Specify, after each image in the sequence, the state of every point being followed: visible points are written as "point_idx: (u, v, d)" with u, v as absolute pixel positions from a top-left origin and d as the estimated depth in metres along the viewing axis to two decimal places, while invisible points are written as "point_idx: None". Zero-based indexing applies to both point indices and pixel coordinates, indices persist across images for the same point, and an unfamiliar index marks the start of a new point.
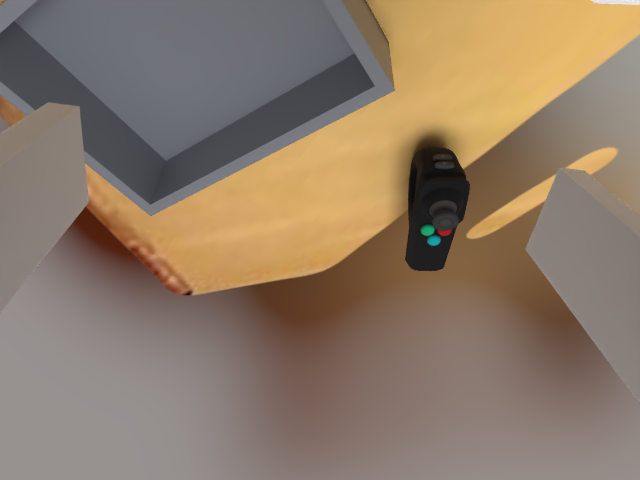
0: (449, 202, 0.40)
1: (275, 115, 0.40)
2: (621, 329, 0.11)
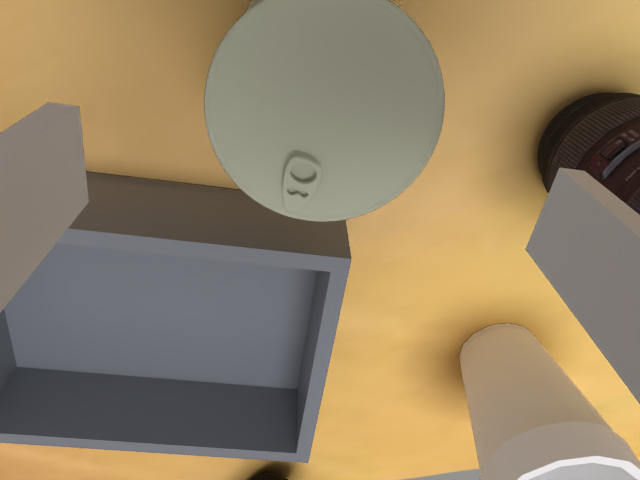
0: None
1: (180, 407, 0.38)
2: (621, 329, 0.11)
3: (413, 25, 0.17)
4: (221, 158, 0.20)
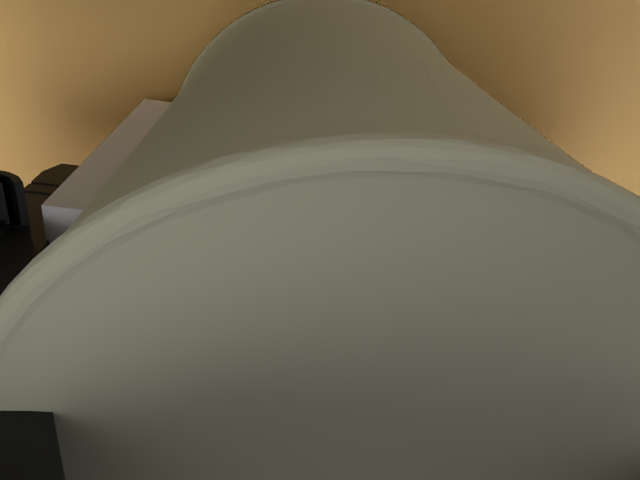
0: None
1: None
2: None
3: None
4: None
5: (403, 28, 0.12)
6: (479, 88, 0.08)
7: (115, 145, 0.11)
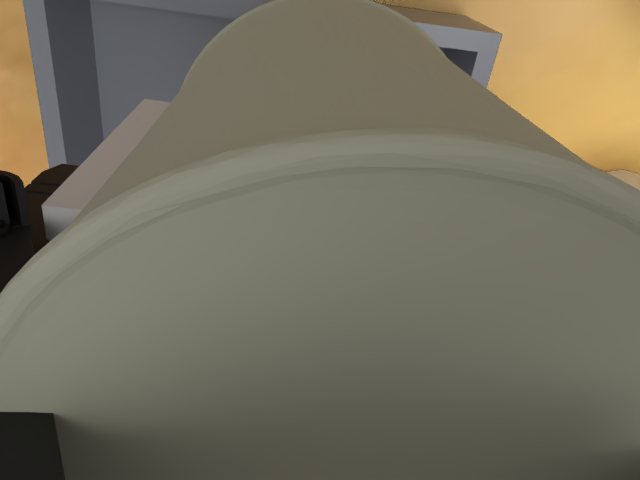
0: None
1: None
2: None
3: None
4: None
5: (404, 26, 0.12)
6: (481, 86, 0.08)
7: (115, 145, 0.11)
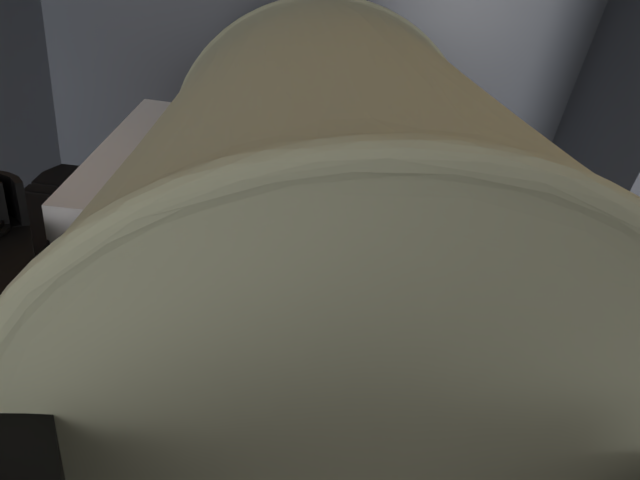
0: None
1: None
2: None
3: None
4: None
5: (403, 28, 0.12)
6: (480, 88, 0.08)
7: (115, 145, 0.11)
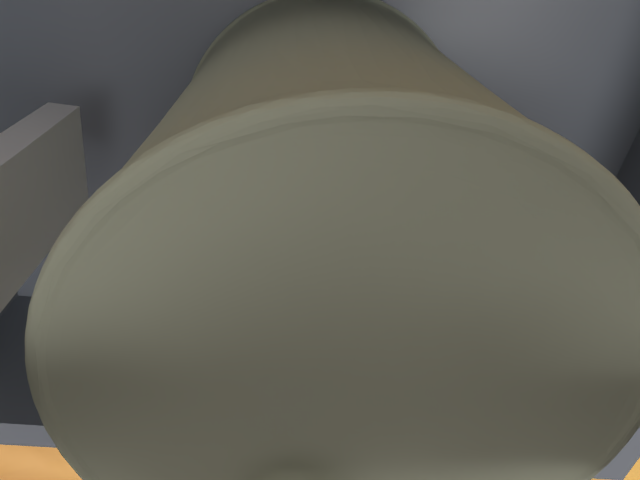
0: None
1: None
2: None
3: (630, 207, 0.06)
4: None
5: (397, 19, 0.13)
6: (459, 68, 0.09)
7: None
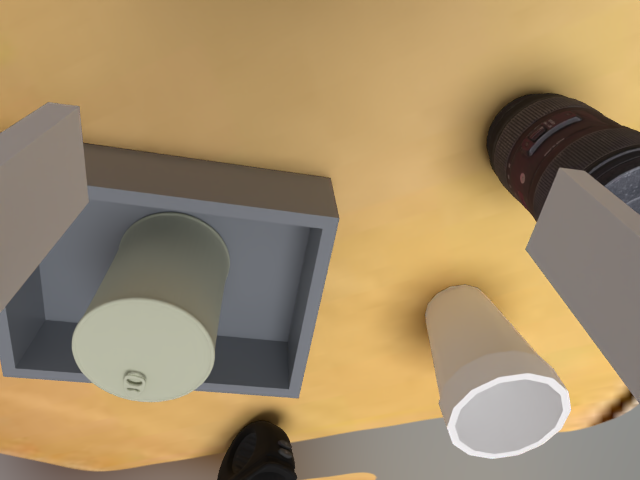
0: None
1: None
2: (620, 329, 0.11)
3: (186, 315, 0.32)
4: (85, 373, 0.33)
5: (189, 230, 0.39)
6: (183, 268, 0.35)
7: None
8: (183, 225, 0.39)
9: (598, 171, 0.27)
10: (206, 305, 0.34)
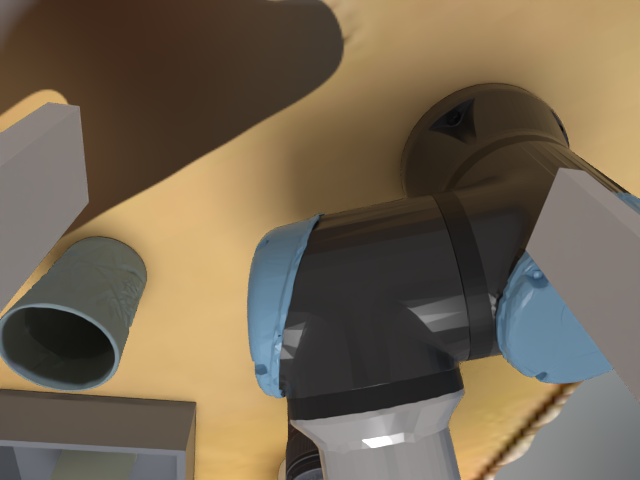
0: None
1: None
2: (621, 329, 0.11)
3: None
4: None
5: None
6: None
7: None
8: None
9: (297, 464, 0.49)
10: None
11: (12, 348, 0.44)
